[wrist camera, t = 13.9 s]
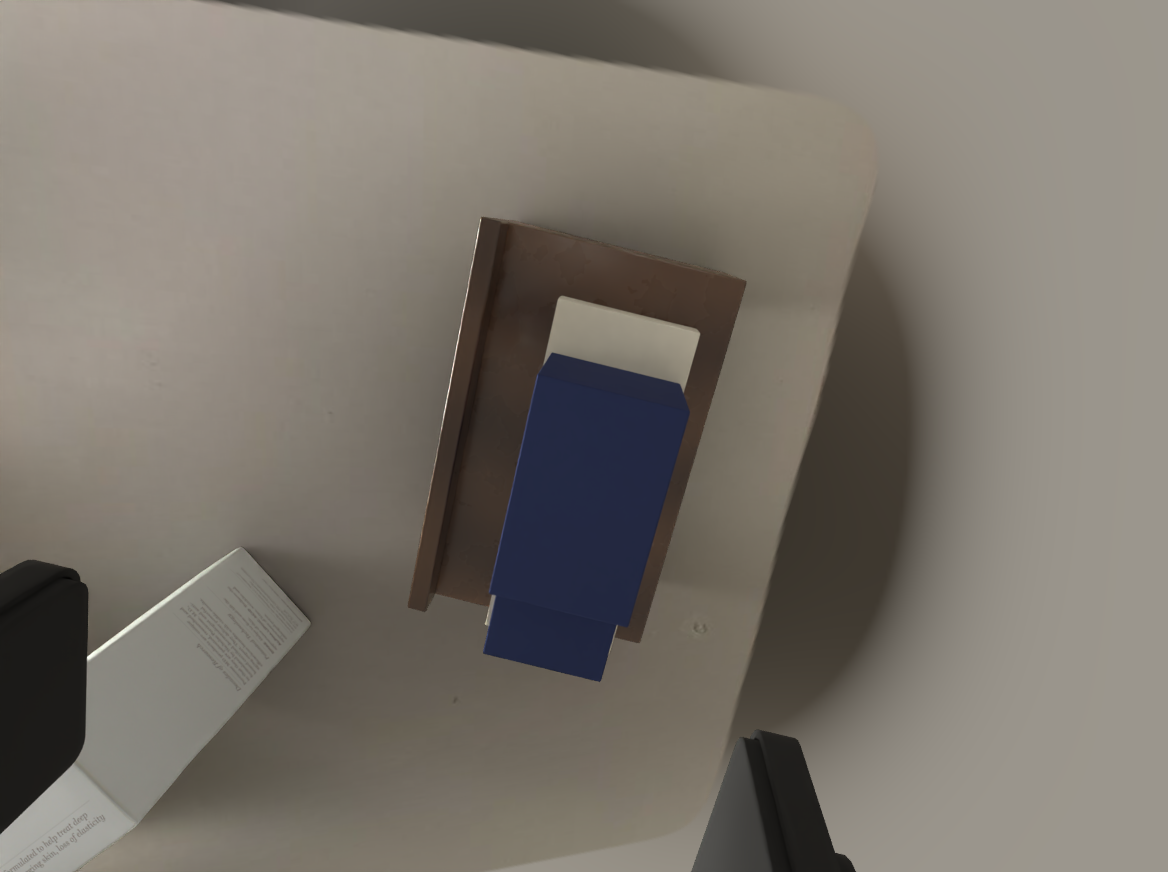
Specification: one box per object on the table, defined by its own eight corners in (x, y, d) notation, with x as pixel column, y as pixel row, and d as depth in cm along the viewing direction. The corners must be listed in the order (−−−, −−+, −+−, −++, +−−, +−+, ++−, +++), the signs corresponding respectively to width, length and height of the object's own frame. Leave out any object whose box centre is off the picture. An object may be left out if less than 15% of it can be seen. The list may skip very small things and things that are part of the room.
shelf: (513, 220, 32) (480, 216, 25) (726, 272, 33) (754, 284, 25) (450, 534, 37) (406, 608, 30) (638, 580, 37) (640, 665, 30)
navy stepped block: (561, 295, 27) (544, 310, 22) (697, 329, 27) (714, 352, 22) (490, 611, 31) (461, 689, 26) (609, 640, 31) (606, 724, 26)
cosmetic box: (215, 694, 40) (-10, 945, 26) (138, 617, 39) (-140, 834, 25) (320, 617, 39) (140, 840, 24) (243, 534, 38) (6, 717, 23)
